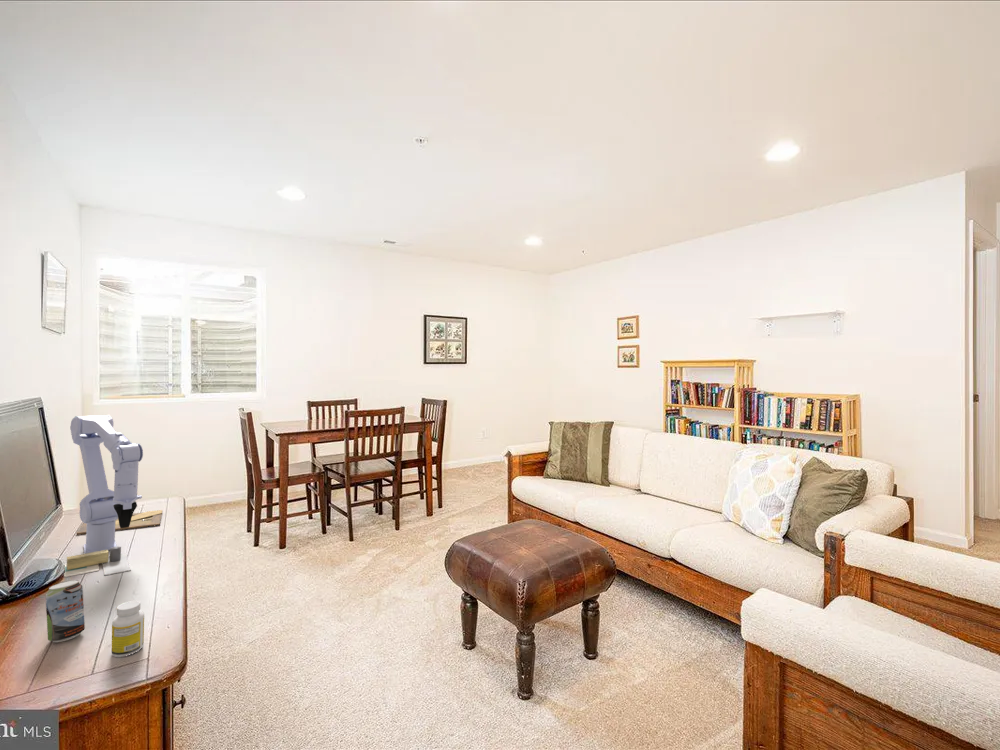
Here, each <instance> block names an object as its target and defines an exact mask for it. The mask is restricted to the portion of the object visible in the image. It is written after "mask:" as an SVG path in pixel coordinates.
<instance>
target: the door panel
mask: <svg viewBox="0 0 1000 750" xmlns="http://www.w3.org/2000/svg"><path fill="white" fill-rule="evenodd" d="M121 552H122V546H117V547H112V548H110V550H109V555H108V562H105V563H101V564H102V570H103V576H104V577H106V576H110V575H115V574H121V573H126V572H131V570H132V569H131V566H130V561H129V558H128V555H127V552H125V553H121ZM64 565H65V573H64V572H63V578H69V577H73V576H74V577H75V576H79V575H84V574H90V573H94V572H99V571H100V567H99V564H95V565H90V566H85V567H80V568H75V569H70V570H67V567H66V566H67V563H64Z"/></svg>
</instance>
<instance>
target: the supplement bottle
mask: <svg viewBox="0 0 1000 750" xmlns="http://www.w3.org/2000/svg"><path fill="white" fill-rule="evenodd" d="M115 613H116V616H115V617H114V618H113V619H112V623H111V655H112V656H113V657H114V656H115V658H121V657H120V656H126V655H129V654H132V653H135V652H136V651H138V652H140V651H141V650H142V649H143V647H144V644H145V643H144V641H145V638H144V637H145V636H144V635H145V613H144V612H143V611H142V610H141V601H139V600H129V601H124V602H123V603H121V604H119V605H117V607H116V612H115ZM141 648H142V649H141ZM140 649H141V650H140ZM139 650H140V651H139ZM135 654H136V653H135ZM132 655H133V654H132ZM126 657H127V656H126Z"/></svg>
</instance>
